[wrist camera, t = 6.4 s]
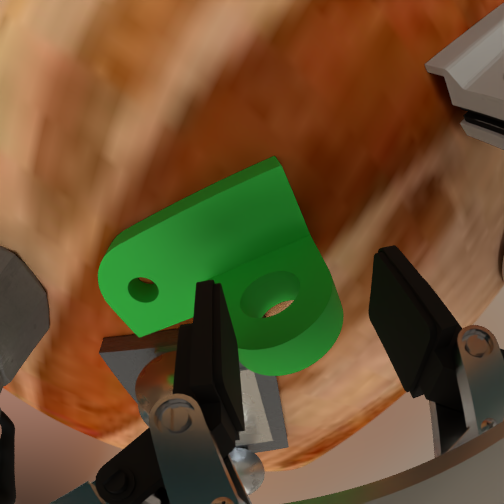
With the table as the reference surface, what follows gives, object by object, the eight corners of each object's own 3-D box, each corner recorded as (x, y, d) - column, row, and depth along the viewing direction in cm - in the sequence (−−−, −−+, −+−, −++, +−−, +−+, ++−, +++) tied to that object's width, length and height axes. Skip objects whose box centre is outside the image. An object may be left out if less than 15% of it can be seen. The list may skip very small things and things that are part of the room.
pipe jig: (103, 337, 20) (80, 424, 14) (264, 314, 20) (283, 411, 14) (188, 448, 32) (189, 502, 25) (286, 436, 32) (297, 491, 25)
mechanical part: (273, 154, 15) (321, 223, 8) (312, 245, 18) (360, 345, 12) (89, 249, 17) (36, 347, 10) (143, 316, 20) (123, 419, 13)
